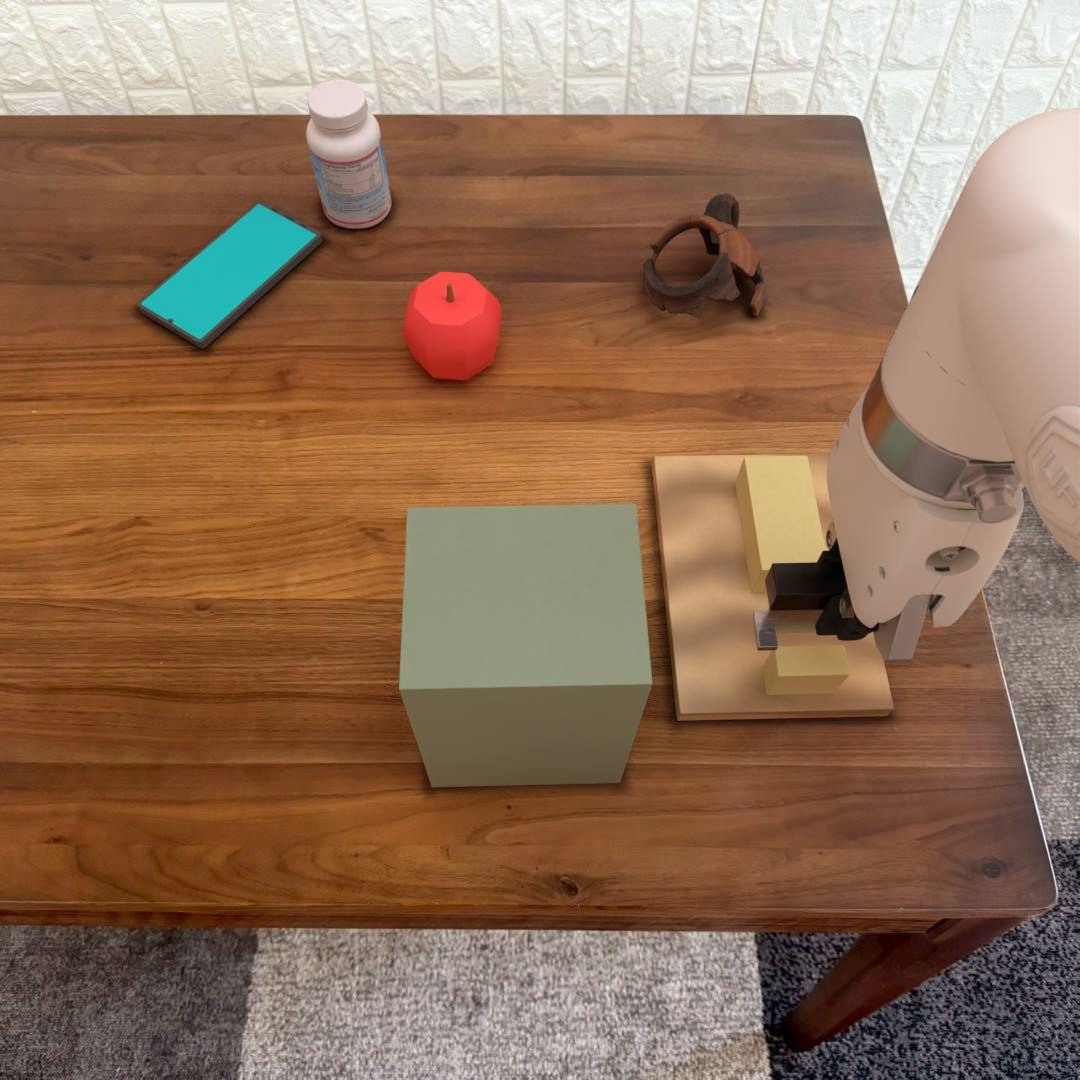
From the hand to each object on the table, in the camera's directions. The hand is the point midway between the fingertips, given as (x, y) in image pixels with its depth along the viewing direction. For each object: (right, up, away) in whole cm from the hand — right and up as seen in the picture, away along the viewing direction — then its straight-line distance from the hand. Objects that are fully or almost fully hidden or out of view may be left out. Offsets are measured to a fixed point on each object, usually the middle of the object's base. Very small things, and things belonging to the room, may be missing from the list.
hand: (838, 607), depth 55 cm
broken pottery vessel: (-3, +25, +26) cm, 37 cm away
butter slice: (0, -5, +8) cm, 9 cm away
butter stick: (-1, +4, +13) cm, 14 cm away
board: (-1, +1, +13) cm, 13 cm away
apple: (-24, +19, +23) cm, 38 cm away
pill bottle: (-33, +34, +31) cm, 56 cm away
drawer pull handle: (0, -2, +3) cm, 3 cm away
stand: (-18, -7, +8) cm, 21 cm away
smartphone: (-43, +26, +26) cm, 57 cm away
